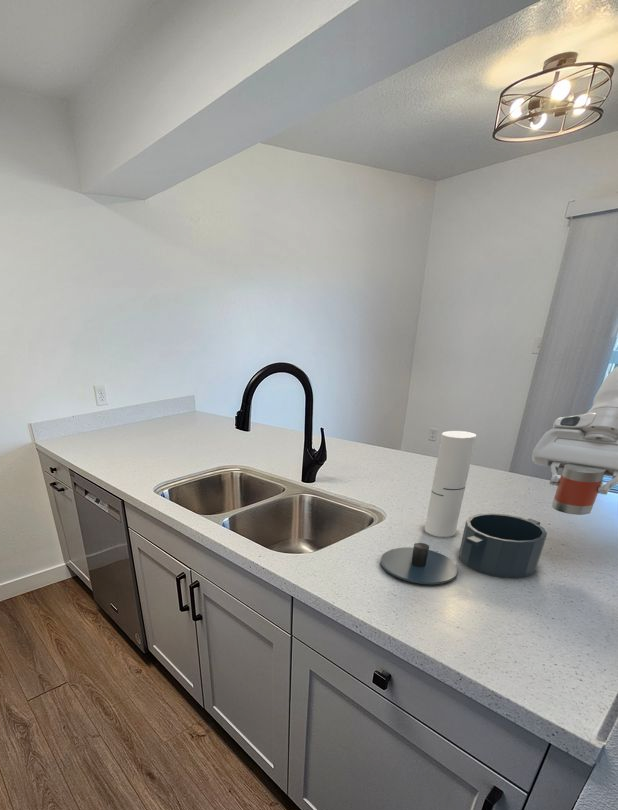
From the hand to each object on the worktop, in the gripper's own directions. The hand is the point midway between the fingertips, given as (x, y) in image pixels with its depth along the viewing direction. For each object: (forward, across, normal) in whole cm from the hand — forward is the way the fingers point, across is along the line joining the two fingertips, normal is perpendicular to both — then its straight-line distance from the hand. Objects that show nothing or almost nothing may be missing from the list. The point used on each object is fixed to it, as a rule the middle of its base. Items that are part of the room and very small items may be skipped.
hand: (576, 488), depth 90 cm
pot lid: (+28, +19, +6) cm, 35 cm away
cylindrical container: (+14, +24, -10) cm, 29 cm away
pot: (+19, +8, -5) cm, 21 cm away
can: (+3, 0, -4) cm, 5 cm away
